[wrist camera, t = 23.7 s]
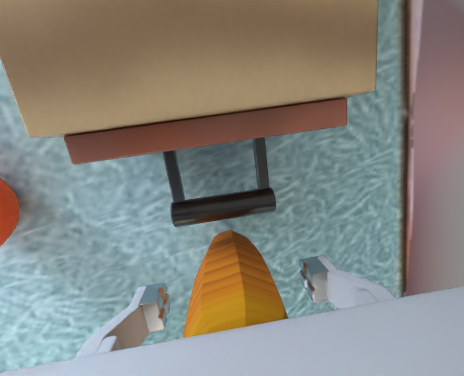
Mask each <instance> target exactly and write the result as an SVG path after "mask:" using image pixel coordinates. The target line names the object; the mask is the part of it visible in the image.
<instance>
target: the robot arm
mask: <svg viewBox="0 0 464 376" xmlns="http://www.w3.org/2000/svg"><path fill="white" fill-rule="evenodd" d="M299 266H300V267H301V271H300V278H301V282H302V284H303V286H304V288H305V289H307V290H308V295H309V296H310V298H311V300H312V301H313V302H320V301H327V300H328V301H329V302H330V303H332V304H333V305H335V306H336V307H338V308H339V309H337V310H331V311H326V312H321V313H315V314H310V315H305V316H299V317H294V318H289V319H283V320H278V321H272V322H267V323H262V324H256V325H251V326H246V327H240V328H235V329H229V330H224V331H219V332H213V333H208V334H202V335H197V336H192V337H186V338H181V339H176V340H170V341H165V342H159V343H154V344H149V345H143V346H140V345H141V343H142V342H143V341H144V340H145V338H146V337H147V336H148V335H149V333H152V332H157V331H161V330H165V326H166V322H167V316H166V315H167V314H168V313H169V310H170V298H169V295H168V294H167V293H166V291H167V286H166V284H165V283H160V284H153V285H148V286H141V287H138V289H137V291H136V293H135V295H134V297H133V299H132V301H131V303H130V305H129V307H128V308H125V309H123V310H122V311H121V312H120V313H119V314H117V315H116V316H115V317H114V318H112V319H111V320H110V321H109V322H107V323H106V324H105V325H104V326H102V327H101V328H100V329H99V330H97V331H96V332H95V333H94V334H92V335H91V336H90V337H89V338H88V339H86V340H85V342H84V343H83V345H82V346H81V348H80V350H79V351H78V353H77V354H76V356H75V358H73V359H68V360H63V361H57V362H52V363H47V364H41V365H36V366H30V367H25V368H20V369H14V370H9V371H2V372H0V376H464V286H461V287H455V288H450V289H444V290H439V291H434V292H429V293H423V294H418V295H412V296H407V297H402V298H396V297H395V296H394V295H393V294H392V293H391V292H390V291H389V290H387V289H386V288H385V287H384V286H382V285H379V284H377V283H374V282H372V281H369V280H366V279H364V278H361V277H359V276H356V275H353V274H351V273H348V272H346V271H343V270H338V269H337V268H336V267H335V266H334V265H333V264H332V263H331V261H330V260H329V259H328V258H327V257H326V256H325V255H320V256H315V257H311V258H306V259H300V260H299Z"/></svg>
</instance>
